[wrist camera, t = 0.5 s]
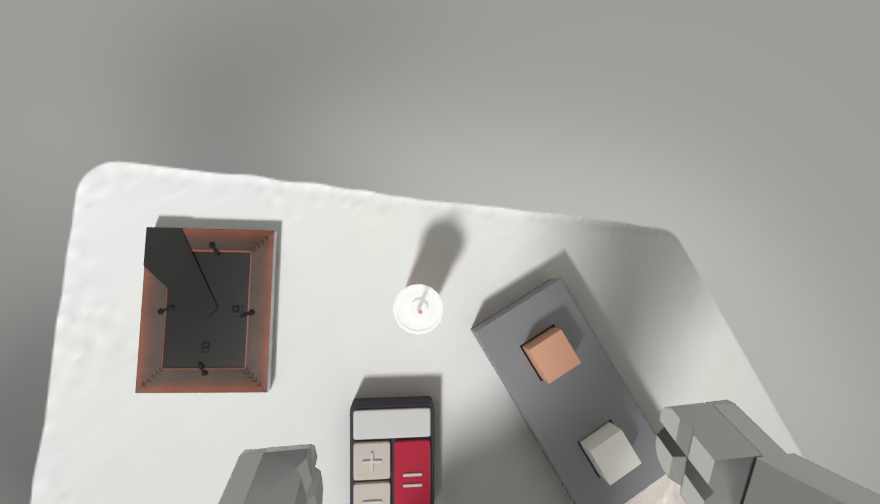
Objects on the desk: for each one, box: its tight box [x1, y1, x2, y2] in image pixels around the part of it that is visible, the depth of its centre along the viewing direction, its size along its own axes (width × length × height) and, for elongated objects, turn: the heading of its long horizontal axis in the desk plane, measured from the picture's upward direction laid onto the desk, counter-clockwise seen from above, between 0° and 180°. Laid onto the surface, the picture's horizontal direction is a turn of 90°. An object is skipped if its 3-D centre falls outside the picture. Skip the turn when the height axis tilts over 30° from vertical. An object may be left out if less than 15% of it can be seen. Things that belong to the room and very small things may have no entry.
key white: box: [578, 421, 641, 485], centre depth 57 cm, size 5×5×4 cm
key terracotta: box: [521, 326, 581, 384], centre depth 57 cm, size 5×5×4 cm
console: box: [471, 279, 666, 504], centre depth 60 cm, size 30×14×4 cm, turn 31°
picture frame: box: [135, 227, 277, 393], centre depth 58 cm, size 16×2×22 cm
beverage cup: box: [393, 284, 443, 334], centre depth 54 cm, size 6×6×14 cm
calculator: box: [350, 396, 434, 504], centre depth 57 cm, size 11×4×15 cm
